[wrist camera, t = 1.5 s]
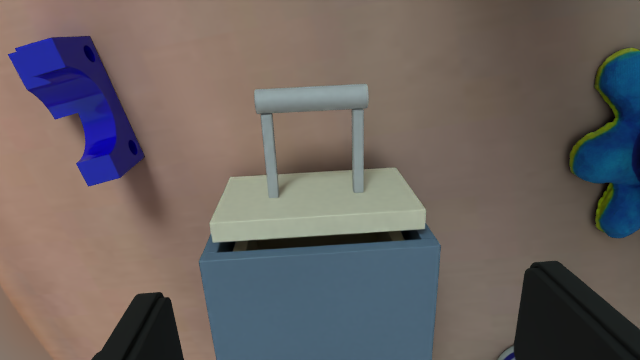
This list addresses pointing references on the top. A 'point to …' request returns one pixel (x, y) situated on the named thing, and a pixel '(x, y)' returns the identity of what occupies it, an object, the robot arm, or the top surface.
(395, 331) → the cabinet
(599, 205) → the plush toy
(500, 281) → the top surface
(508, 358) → the energy drink
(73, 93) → the cable holder
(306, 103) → the drawer
